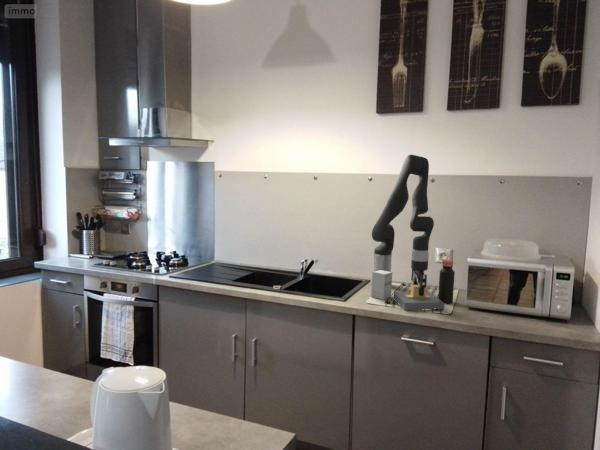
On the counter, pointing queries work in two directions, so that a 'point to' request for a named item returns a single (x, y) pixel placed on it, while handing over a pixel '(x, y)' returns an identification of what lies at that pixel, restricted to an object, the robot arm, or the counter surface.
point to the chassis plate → (418, 301)
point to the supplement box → (381, 284)
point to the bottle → (446, 282)
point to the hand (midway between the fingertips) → (418, 293)
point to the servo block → (417, 293)
